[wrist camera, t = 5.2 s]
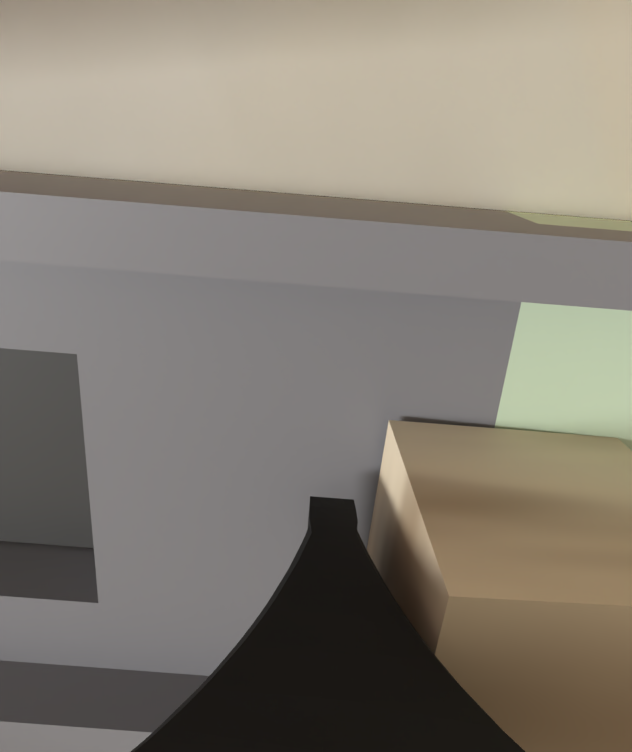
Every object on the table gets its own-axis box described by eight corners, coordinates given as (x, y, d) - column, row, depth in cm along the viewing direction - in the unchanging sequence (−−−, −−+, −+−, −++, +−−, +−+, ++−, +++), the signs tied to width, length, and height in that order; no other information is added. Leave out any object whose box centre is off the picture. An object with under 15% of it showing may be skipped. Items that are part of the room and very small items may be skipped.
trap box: (668, 673, 16) (754, 808, 13) (-484, 587, 16) (-693, 701, 13) (851, 238, 12) (1054, 276, 8) (-756, 109, 11) (-1190, 96, 8)
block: (556, 614, 13) (683, 843, 9) (357, 604, 12) (389, 837, 8) (617, 437, 11) (812, 615, 7) (388, 420, 11) (448, 596, 7)
